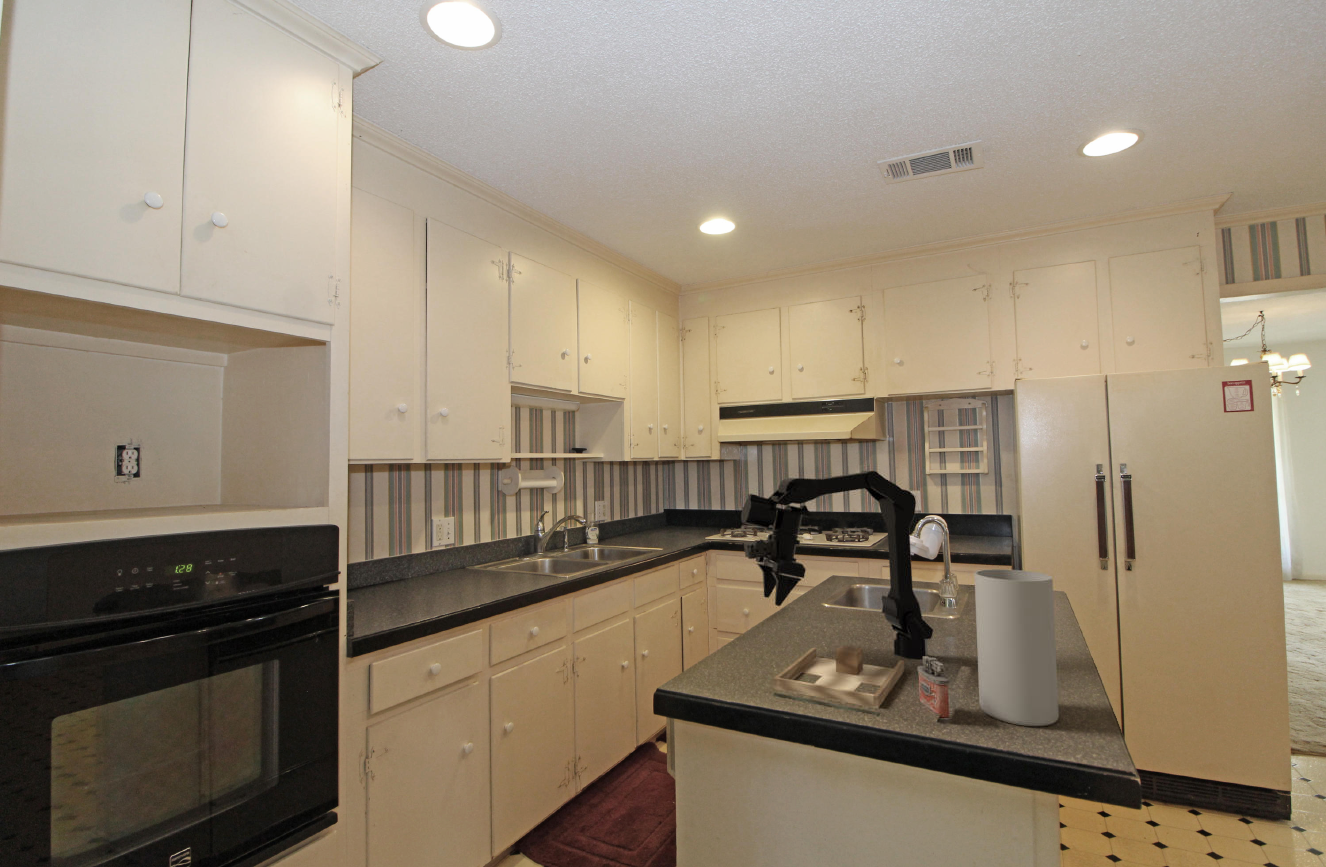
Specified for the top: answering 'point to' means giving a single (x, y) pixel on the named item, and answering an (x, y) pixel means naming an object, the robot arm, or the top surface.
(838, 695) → the box
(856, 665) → the block
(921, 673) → the lighter
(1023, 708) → the cylinder vase
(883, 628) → the top surface
